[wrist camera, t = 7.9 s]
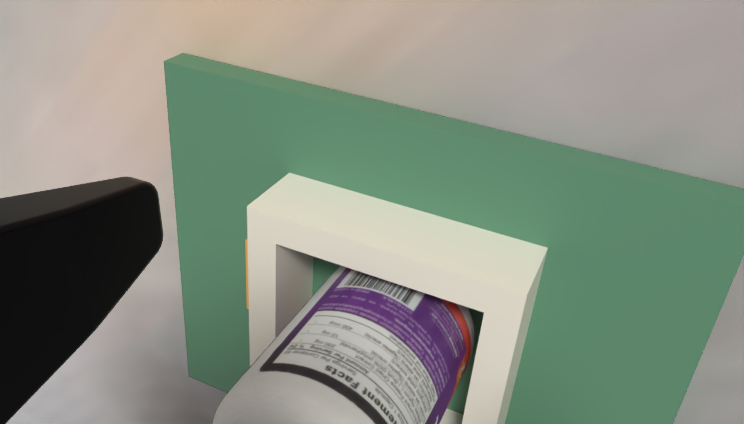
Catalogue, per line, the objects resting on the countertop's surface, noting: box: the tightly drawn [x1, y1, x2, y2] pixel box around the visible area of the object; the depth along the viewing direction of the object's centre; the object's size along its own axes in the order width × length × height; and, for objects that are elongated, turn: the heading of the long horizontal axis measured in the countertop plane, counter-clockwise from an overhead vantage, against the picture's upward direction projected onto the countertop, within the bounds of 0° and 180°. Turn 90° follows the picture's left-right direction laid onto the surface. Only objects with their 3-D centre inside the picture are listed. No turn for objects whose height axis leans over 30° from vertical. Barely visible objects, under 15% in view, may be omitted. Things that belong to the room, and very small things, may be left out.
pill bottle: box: [212, 266, 474, 424], centre depth 20 cm, size 5×5×10 cm
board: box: [164, 53, 744, 424], centre depth 23 cm, size 18×14×4 cm
